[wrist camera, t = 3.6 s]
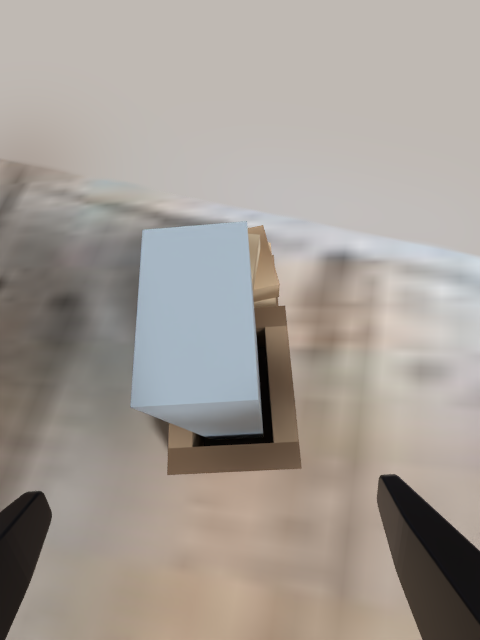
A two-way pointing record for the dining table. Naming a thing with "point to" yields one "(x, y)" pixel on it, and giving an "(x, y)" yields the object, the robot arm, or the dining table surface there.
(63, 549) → the dining table surface
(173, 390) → the light blue tall bar
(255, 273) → the offcut stack
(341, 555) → the dining table surface
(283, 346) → the rack
